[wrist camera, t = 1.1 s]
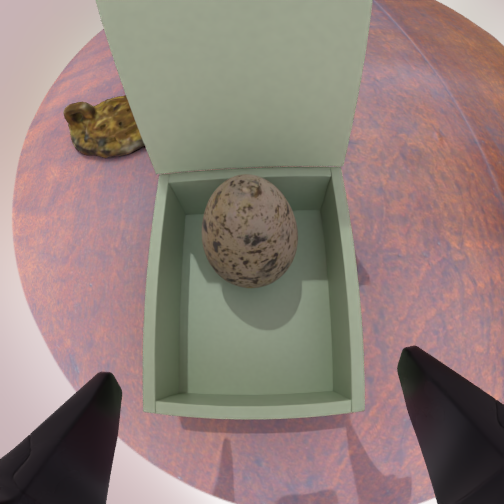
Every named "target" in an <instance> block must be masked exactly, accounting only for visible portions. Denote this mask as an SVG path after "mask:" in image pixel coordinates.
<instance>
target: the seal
mask: <svg viewBox="0 0 504 504" xmlns="http://www.w3.org/2000/svg"><path fill="white" fill-rule="evenodd" d="M64 117H65V119H66V121H67V122H68V123H69V124H68V126H69V129H70V135H71V140H72V142H73V145H74V146H75V148H76V149H77V150H78V151H80V152H81V153H82V154H85V155H97V156H100V157H104V158H106V157H113V156H122V155H125V154H129V153H131V152H133V151H136V150H137V149H139V148H141V147H143V146H145V145H144V142H143V140H142V137H141V134H140V132H139V129H138V126H137V124H136V121H135V119H134V116H133V113H132V110H131V108H130V105H129V102H128V99H127V97H126V95H125V96H119V97H115V98H111V99H107V100H105V101H103V102H101V103H100V104H98V105H96V106H94V107H93V106H92V105H90V104H88V103H86V102H77V103H73V104H70V105H68V106H67V107H66V108H65V110H64Z"/></svg>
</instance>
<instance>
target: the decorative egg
mask: <svg viewBox="0 0 504 504" xmlns="http://www.w3.org/2000/svg"><path fill="white" fill-rule="evenodd" d="M202 243H203V248H204V251H205V255H206V257H207V259H208V261H209V263H210V265H211V266H212V268H213V269H214V270H215V272H216V273H217V274H218V275H219V276H220V277H221V278H223V279H224V280H226V281H227V282H229V283H231V284H233V285H236V286H239V287H243V288H259V287H263V286H266V285H269V284H271V283H273V282H275V281H276V280H278V279H279V278H280V277H281V276H282V275H283V274H284V273H285V272H286V271H287V270H288V268H289V267H290V265H291V263H292V262H293V259H294V257H295V254H296V250H297V245H298V229H297V224H296V220H295V216H294V214H293V211H292V209H291V207H290V205H289V203H288V201H287V200H286V198H285V197H284V195H283V194H282V193H281V192H280V190H279V189H278V188H277V187H276V186H275V185H273V184H272V183H271V182H269V181H268V180H266V179H264V178H262V177H259V176H256V175H250V174H242V175H237V176H234V177H231V178H229V179H227V180H226V181H224V182H223V183H222V184H221V185H220V186H219V187H218V188H217V189H216V190H215V191H214V193H213V194H212V196H211V197H210V199H209V201H208V203H207V206H206V209H205V212H204V216H203V221H202Z"/></svg>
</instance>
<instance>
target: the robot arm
mask: <svg viewBox="0 0 504 504" xmlns="http://www.w3.org/2000/svg"><path fill="white" fill-rule="evenodd" d="M397 371H398V375H399V379H400V383H401V387H402V390H403V394H404V398H405V402H406V406H407V410H408V413H409V416H410V419H411V422H412V425H413V427H414V430H415V433H416V436H417V439H418V442H419V445H420V448H421V451H422V454H423V457H424V460H425V463H426V466H427V469H428V472H429V476H430V479H431V482H432V486H433V489H434V493H435V496H436V500H437V503H438V504H504V405H503V404H502V403H500V402H499V401H498V400H496V399H495V398H493V397H492V396H490V395H489V394H487V393H486V392H484V391H483V390H481V389H480V388H478V387H477V386H475V385H474V384H473V383H471V382H470V381H468V380H467V379H465V378H464V377H462V376H461V375H459V374H458V373H456V372H455V371H453V370H452V369H450V368H449V367H447V366H446V365H444V364H443V363H441V362H440V361H438V360H437V359H435V358H434V357H432V356H431V355H429V354H428V353H426V352H425V351H423V350H422V349H420V348H419V347H417V346H410V347H406V348H404V349H403V350H402V353H401V357H400V360H399V363H398V367H397ZM121 400H122V390H121V387H120V386H119V384H118V382H117V380H116V379H115V377H114V375H113V374H112V373H111V372H99V373H98V374H96V375H95V376H94V377H93V378H92V379H91V380H90V381H89V382H87V383H86V384H85V385H84V386H83V387H82V388H81V389H80V390H79V391H77V392H76V393H75V394H74V395H73V396H72V397H71V398H70V399H69V400H67V401H66V402H65V403H64V404H63V405H62V406H61V407H60V408H58V409H57V410H56V411H55V412H54V413H53V414H52V415H51V416H50V417H48V418H47V419H46V420H45V421H44V422H43V423H42V424H41V425H40V426H39V427H38V428H36V429H35V430H34V431H33V432H32V433H31V434H30V435H29V436H28V437H26V438H25V439H24V440H23V441H22V442H21V443H20V444H18V445H17V446H16V447H15V448H14V449H13V450H11V451H10V452H9V453H7V454H6V455H5V456H4V457H2V458H1V459H0V504H106V500H107V493H108V487H109V480H110V474H111V468H112V463H113V457H114V452H115V447H116V441H117V436H118V429H119V419H120V409H121Z"/></svg>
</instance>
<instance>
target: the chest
mask: <svg viewBox="0 0 504 504" xmlns="http://www.w3.org/2000/svg"><path fill="white" fill-rule="evenodd" d="M242 174H250V175H256V176H259V177H262V178H264V179H266V180H268V181H269V182H271V183H272V184H273V185H275V186H276V187H277V188H278V189H279V190H280V192H281V193H282V194H283V195H284V197H285V198H286V200H287V201H288V203H289V205H290V207H291V209H292V211H293V214H294V216H295V220H296V224H297V229H298V245H297V250H296V254H295V257H294V259H293V262H292V263H291V265H290V267H289V268H288V270H287V271H286V272H285V273H284V274H283V275H282V276H281V277H280V278H279V279H278V280H276V281H275V282H273V283H271V284H269V285H266V286H263V287H259V288H243V287H239V286H236V285H233V284H231V283H229V282H227V281H226V280H224V279H223V278H221V277H220V276H219V275H218V274H217V273H216V272H215V270H214V269H213V268H212V266H211V265H210V263H209V261H208V259H207V257H206V255H205V251H204V248H203V243H202V221H203V216H204V212H205V209H206V206H207V203H208V201H209V199H210V197H211V196H212V194H213V193H214V191H215V190H216V189H217V188H218V187H219V186H220V185H221V184H222V183H223V182H224V181H226V180H227V179H229V178H231V177H234V176H237V175H242ZM364 410H365V380H364V350H363V332H362V317H361V305H360V294H359V284H358V274H357V266H356V257H355V250H354V242H353V235H352V228H351V222H350V216H349V209H348V204H347V198H346V192H345V187H344V181H343V176H342V171H341V167H262V168H238V169H220V170H205V171H192V172H181V173H170V174H161V175H159V181H158V187H157V193H156V200H155V207H154V214H153V222H152V230H151V238H150V247H149V257H148V267H147V279H146V292H145V308H144V329H143V411H144V412H148V413H156V414H163V415H172V416H183V417H195V418H211V419H289V418H305V417H318V416H328V415H337V414H346V413H351V412H352V413H353V412H360V411H364Z"/></svg>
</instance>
